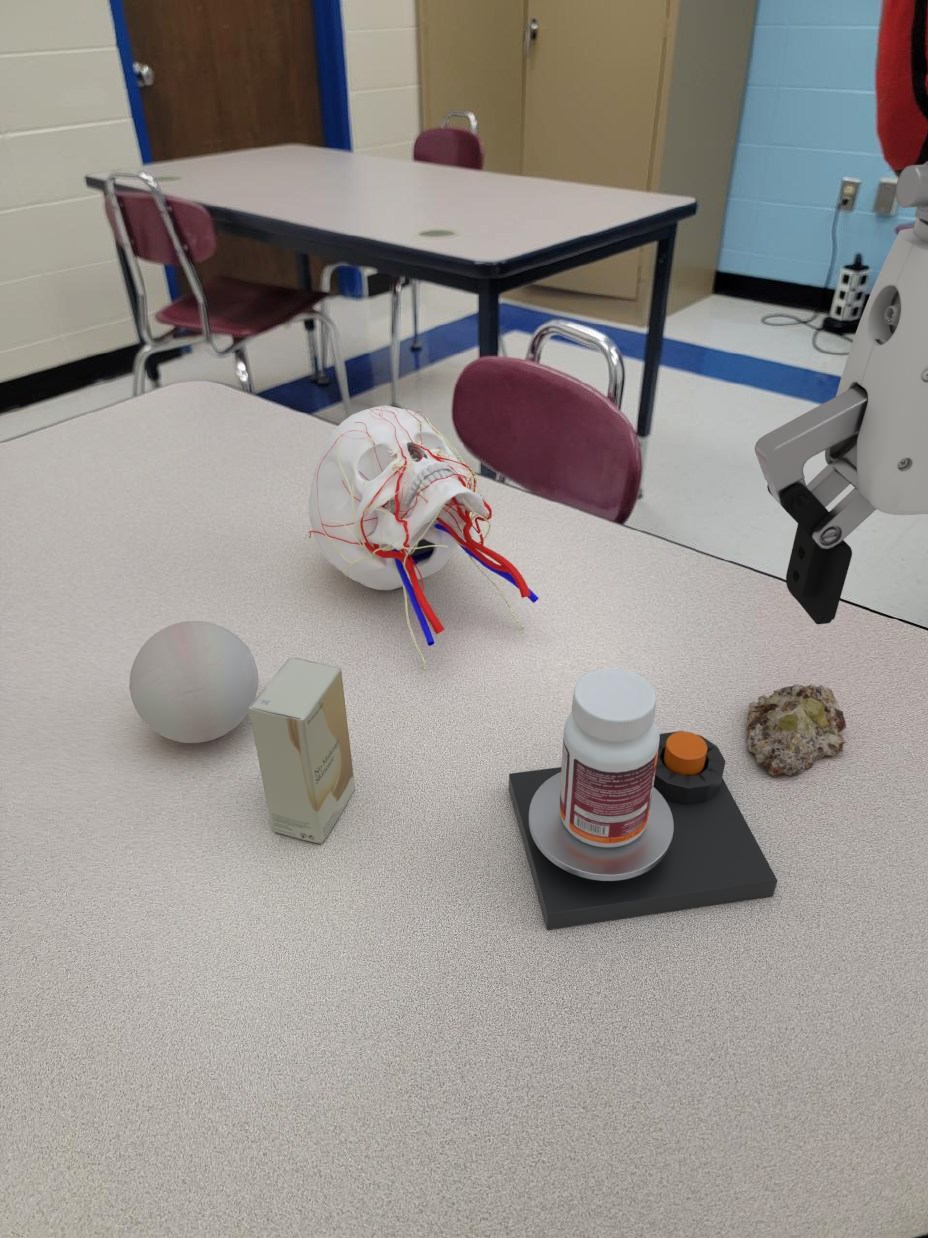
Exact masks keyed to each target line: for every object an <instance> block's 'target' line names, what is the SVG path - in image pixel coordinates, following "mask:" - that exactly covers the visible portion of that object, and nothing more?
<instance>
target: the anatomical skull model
mask: <svg viewBox="0 0 928 1238" xmlns="http://www.w3.org/2000/svg"><path fill="white" fill-rule="evenodd" d="M419 413H421V414H423V416H424V417H422V415H421V414H419ZM454 449H455V450H454ZM477 474H478V473H477V472H474V470H473V469H472V468H471V467H469V466H468V465H467V464H466V463H465V460H464V459H463V457H462V456H461V454H460V452H459V451H458V450H457V449H456V447H455V446H454V445H453V444H451V445H450V444H449V442H448V441H447V439H446V438H445V436H444V435H443V433H442V432H440V431H439V430H438V429H437V428H435V427H434V426H433V424H432V423H431V422H430V420H429V419H428V417H427V415H426V413H425V412H423V411H422V410H419V411H417V412H415V411H413V410H410V409H408V408H406V409H405V408H399V407H395V406H392V405H380V406H379V405H378V406H374V407H371V408H367V409H363V410H360V411H357V412H355V413H353V414H351V415H350V416H348V417H346V419H344V420H343V421H341V422H340V423H339V424H338V426H337V427H336V428H335V429H334V430H333V432H332V433H331V435H330V436H329V438H328V439H327V441H326V443H325V444H324V446H323V448H322V450H321V453H320V455H319V457H318V460H317V463H316V466H315V468H314V471H313V476H312V480H311V483H310V484H311V485H310V490H309V491H310V492H309V498H308V517H309V522H310V525H311V529H312V530H309V531H308V534H309V537H308V539H311V536H312V533H313V537H314V540H315V542H316V544H317V546H318V548H319V550H320V551H321V553H322V555H323V557H325V559H326V560H327V561H328V562H329V563H330V564H331V565H332V566H333V567H334V568H336V570H339V571H340V572H341V573H342V574H343V575H344V577H345V578H349V579H351V580H353V581H355V582H357V583H359V584H361V585H362V586H364V587H366V588H369V589H372V590H373V589H374V590H379V591H393V590H395V589H399V588H402V589H403V596H404V597H403V598H404V611H405V620H406V624H407V627H408V630H409V634H410V637H411V640H412V643H413V645H414V647H415V649H416V651H417V653H418V654H419V656H420V658H421V661H422V665H423V671H424V672H425V671H426V670H427V667H426V661H425V658H424V655H423V653H422V651H421V650H420V648H419V646H418V643H417V641H416V638H415V635H414V632H413V629H412V626H411V622H410V617H409V609H408V607H409V606H408V598H409V601H410V604H411V607H412V608H413V611H414V612H415V615H416V618H417V620H418V622H419V625H420V627H421V631H422V633H423V635H424V638H425V640H426V644H427V646H428V647H431V646H433V645H434V644H435V640H434V637H433V634H432V632H431V629H430V627H431V628H432V630H433V632H434V633H435V635H439V634H441V633H442V632H444V631H445V630H446V629H445V627H444V626H443V623H442V622H441V621H440V619H439V618H438V616H437V614H436V613H435V611H434V609H433V608H432V606H431V604H430V603H429V601H428V599H427V598H426V596H425V593H424V588H425V587H424V580H423V579H424V578H428V577H429V576H432V575H434V574H436V573H437V572H439V571H440V570H441V569H442V568H443V567H444V566H445V565H446V564H447V563H448V561H449V560H450V559H451V557H452V555H453V554H454V553H455V551H456V549H457V548H458V547H460V548H461V549H462V550H463V551H464V552H465V553H466V554H467V555H468V557H469V559H470V561H471V562H472V563H473V565H474V566H475V567H476V568H477V569H478V570H479V571H480V572H481V573H482V574H483V575H484V576H485V577H486V578H487V579H488V580H489V581H490V582H491V583H492V584H493V586H494V587H495V589H496V590H497V591H498V592H499V594H500V595H501V597H502V599H503V600H504V601H505V603H506V605H507V607H508V608H509V611H510V613H511V615H512V617H513V619H514V620H515V622H516V623H517V624H518V625H519V627H520V628H521V629H522V630H524V629H525V627H524V625H523V624H522V623H520V621H519V620H518V618H517V617H516V615H515V612H514V610H513V607H512V606H511V604H510V603H509V600H508V599H507V598H506V596H505V595H504V593H503V592H502V590H501V589H500V587H499V586H498V585H497V583H496V582H495V581H494V580H493V578H491V577H490V576H489V575H488V574H487V573H486V572H485V570H483V569H482V568H481V566H483V567H484V568H486V569H487V570H489V571H491V572H492V573H494V574H496V575H498V576H500V577H501V578H503V579H505V580H506V581H507V582H510V584H512V585H513V586H515V588H517V589H518V590H519V593H520V597H521V599H523V598H528V599H529V601H531V602H532V603H533V604H535V603H536V602H537V601H538V600H539V597H538V596H537V595H536V594H535V592H533V590H531V589H530V587H528V584H527V582H526V580H525V579H524V577H523V575H522V574H521V572H520V571H519V569H518V568H517V567H515V565H513V563H512V562H510V561H509V560H508V559H507V558H505V557H504V556H502V555H501V554H500V553H498V552H496V551H494V550H492V549H490V548H489V547H486V546H485V545H484V544H485V542H484V541H485V539H487V537H488V535H489V532H490V530H491V523H492V521H493V515H492V514H493V512H492V511H493V509H492V508H491V506H490V503H488V502H487V501H486V499H485V496H482V494H481V491H480V488H479V487H478V485H477V482H478V481H477V480H479V478H478V477H477ZM464 479H465V480H464ZM478 521H481V522H486V523H487V524H486V525H485V526H484V527H483V529H482V530H481V527H480V525H479V522H478ZM474 524H475V526H474ZM487 527H488V529H487V532H486V534H485V535H484V536H483V532H484V531H485V529H486V528H487ZM475 532H476V533H477V534H478V535H477V537H479V539H480V541H479V542H477V541H476V540H475V539H473V537H474V536H475ZM486 556H487V557H486ZM488 557H489V558H490V559H489V558H488ZM475 560H476V561H477V562H479V564H481V566H479V564H477V562H476V561H475ZM493 560H494V561H493ZM495 562H496V563H495ZM419 580H421V584H422V586H421V585H420V582H419ZM421 587H422V588H421ZM407 595H408V596H407ZM428 623H429V624H430V625H431V626H430V625H429V624H428Z"/></svg>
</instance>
